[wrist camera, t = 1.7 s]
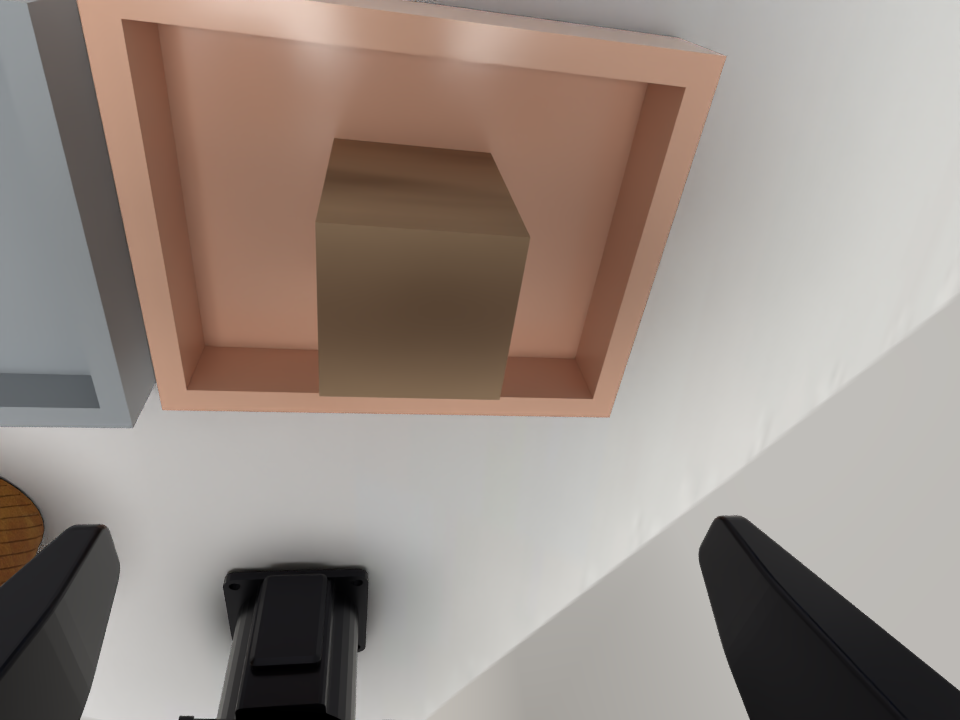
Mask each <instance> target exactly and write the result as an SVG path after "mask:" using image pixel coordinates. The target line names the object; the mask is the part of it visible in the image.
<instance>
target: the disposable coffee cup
mask: <svg viewBox="0 0 960 720" xmlns="http://www.w3.org/2000/svg"><path fill="white" fill-rule="evenodd" d="M43 532H44V526H43V520H42V517H41V515H40V513H39V511H38V509H37V508H36V507H35V505H34V504H33V503H32V501H31V500H30V499H29V498H27V497H26V496H25V495H24V494H23V493H22V492H21V491H20V490H18V489H17V488H15V487H13V486H12V485H10V484H9V483H7V482H6V481H4V480H2V479H0V586H2V585H3V584H4V583H5V582H6V581H7V580H8V579H10V578H11V577H12V576H13V575H14V574H15V573H17V572H18V571H19V570H20V569H21V568H22V567H23V566H25V565H26V564H27V563H28V562H29V561H30V560H32V559H33V558H34V557H35V556H36V553H37V550H38V547H39V544H40V543H41V541H42V537H43Z"/></svg>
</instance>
